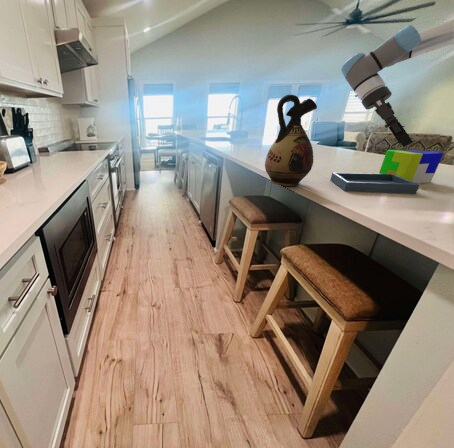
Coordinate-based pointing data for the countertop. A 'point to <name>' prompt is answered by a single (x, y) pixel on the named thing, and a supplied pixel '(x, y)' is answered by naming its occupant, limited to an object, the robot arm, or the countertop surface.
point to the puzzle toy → (411, 164)
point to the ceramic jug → (290, 145)
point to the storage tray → (374, 183)
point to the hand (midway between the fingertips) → (406, 143)
